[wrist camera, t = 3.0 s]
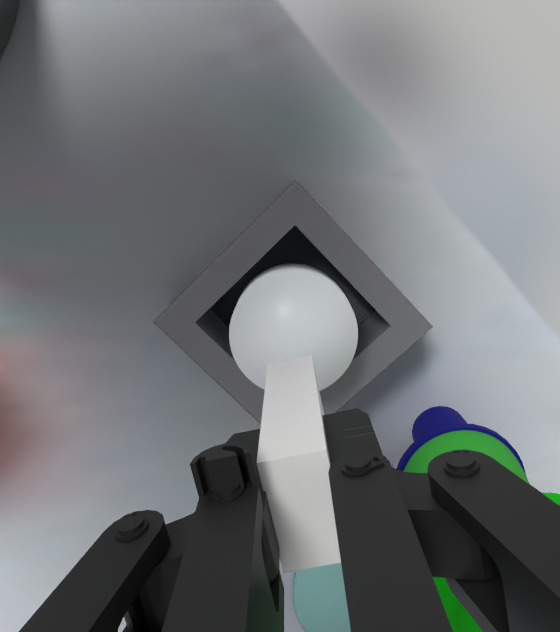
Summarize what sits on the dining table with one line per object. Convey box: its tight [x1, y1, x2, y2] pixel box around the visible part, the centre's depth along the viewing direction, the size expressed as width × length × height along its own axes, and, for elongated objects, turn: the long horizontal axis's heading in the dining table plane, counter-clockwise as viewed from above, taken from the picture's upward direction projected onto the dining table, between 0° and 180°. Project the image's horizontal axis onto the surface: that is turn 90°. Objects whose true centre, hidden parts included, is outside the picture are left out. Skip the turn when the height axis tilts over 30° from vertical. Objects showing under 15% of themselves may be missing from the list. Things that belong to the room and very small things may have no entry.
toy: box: [397, 406, 560, 632], centre depth 25 cm, size 9×9×15 cm
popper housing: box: [154, 180, 433, 424], centre depth 29 cm, size 10×10×4 cm
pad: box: [293, 563, 351, 632], centre depth 35 cm, size 11×11×1 cm
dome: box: [229, 263, 358, 391], centre depth 26 cm, size 6×6×3 cm
